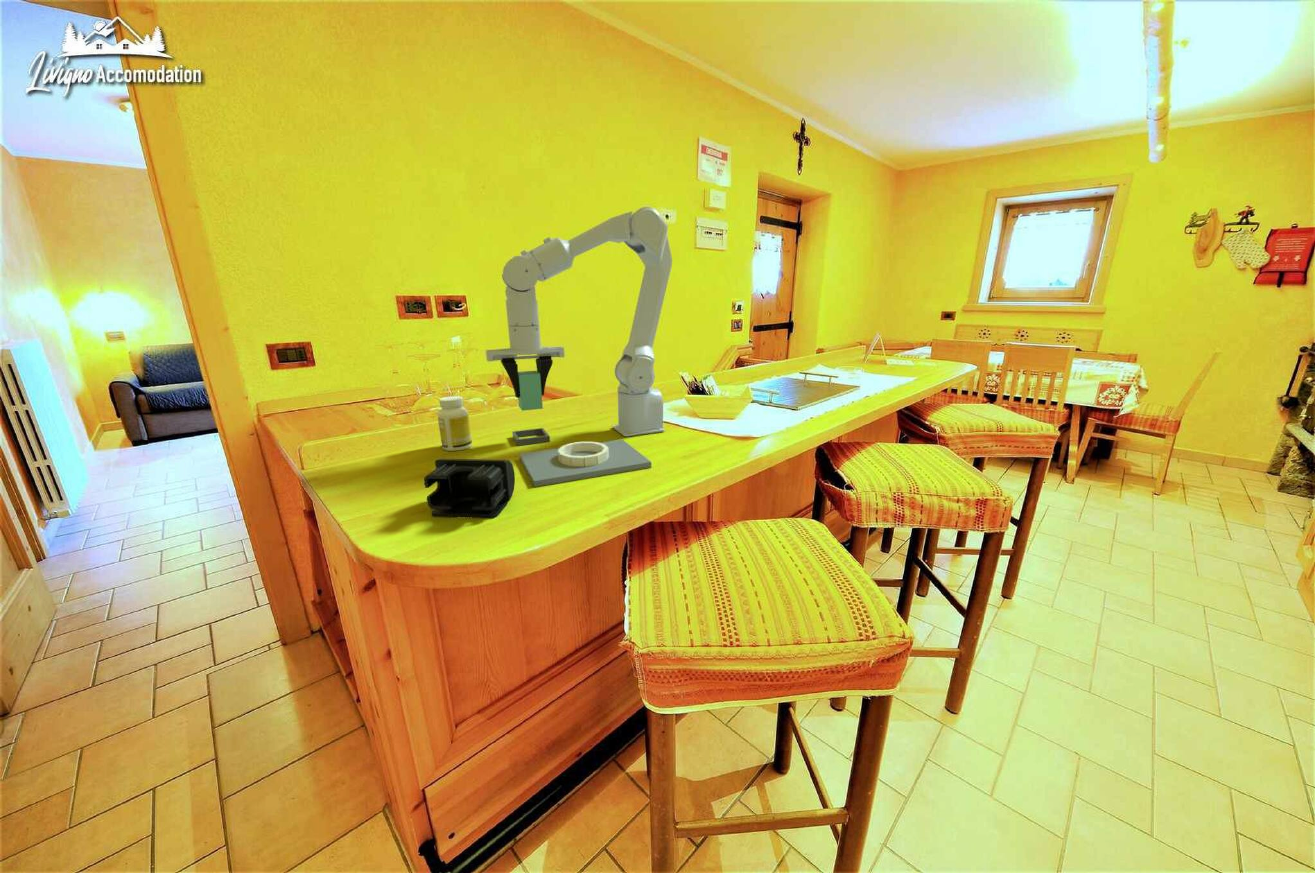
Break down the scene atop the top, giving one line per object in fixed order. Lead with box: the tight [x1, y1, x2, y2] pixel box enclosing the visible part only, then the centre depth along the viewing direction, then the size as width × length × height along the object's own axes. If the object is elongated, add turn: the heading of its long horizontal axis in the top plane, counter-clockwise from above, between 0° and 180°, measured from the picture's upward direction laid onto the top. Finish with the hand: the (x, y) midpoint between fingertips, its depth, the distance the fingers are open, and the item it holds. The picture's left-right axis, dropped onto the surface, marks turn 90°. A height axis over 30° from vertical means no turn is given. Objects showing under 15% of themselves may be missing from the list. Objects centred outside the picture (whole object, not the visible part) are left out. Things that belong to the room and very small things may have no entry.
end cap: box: [423, 458, 516, 519], centre depth 63 cm, size 10×7×7 cm
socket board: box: [519, 439, 652, 488], centre depth 80 cm, size 20×14×3 cm
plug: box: [517, 370, 544, 411], centre depth 90 cm, size 4×4×7 cm
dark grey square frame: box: [511, 427, 551, 447], centre depth 94 cm, size 6×6×1 cm
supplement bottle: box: [437, 395, 473, 452], centre depth 88 cm, size 5×5×10 cm
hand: (529, 395), depth 90 cm, fingers closed on plug, 4 cm apart
